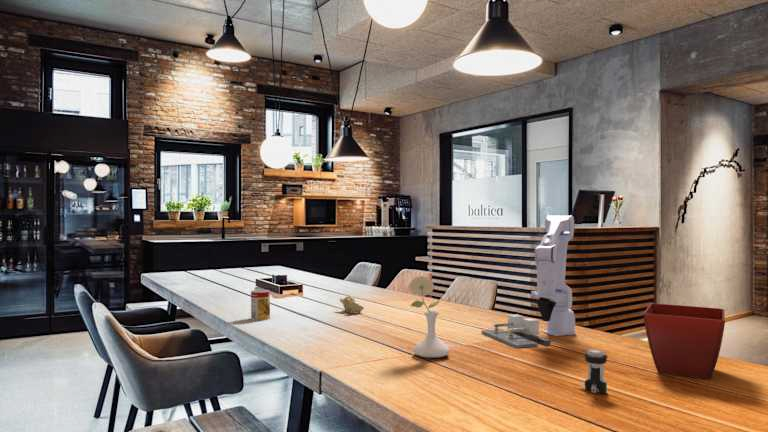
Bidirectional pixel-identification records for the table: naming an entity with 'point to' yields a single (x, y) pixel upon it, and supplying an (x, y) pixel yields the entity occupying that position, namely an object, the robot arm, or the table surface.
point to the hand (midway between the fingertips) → (546, 320)
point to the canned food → (260, 305)
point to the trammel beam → (534, 338)
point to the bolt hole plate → (509, 338)
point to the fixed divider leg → (511, 322)
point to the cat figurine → (351, 305)
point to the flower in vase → (431, 343)
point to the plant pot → (684, 338)
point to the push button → (595, 372)
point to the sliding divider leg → (527, 327)
